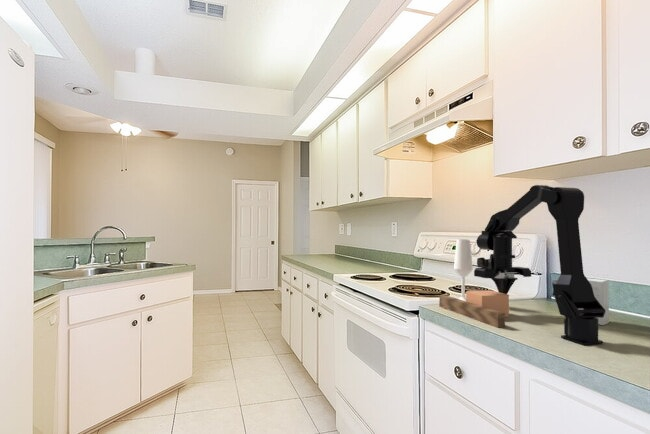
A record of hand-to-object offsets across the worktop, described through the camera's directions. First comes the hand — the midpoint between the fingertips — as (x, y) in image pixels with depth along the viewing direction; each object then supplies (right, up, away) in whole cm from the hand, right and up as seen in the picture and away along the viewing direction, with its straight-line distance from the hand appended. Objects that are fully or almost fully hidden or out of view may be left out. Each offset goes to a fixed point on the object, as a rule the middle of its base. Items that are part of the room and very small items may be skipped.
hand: (502, 298), depth 120 cm
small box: (+23, -5, -9) cm, 25 cm away
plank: (-13, -5, -4) cm, 15 cm away
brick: (-6, -5, -2) cm, 8 cm away
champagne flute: (-7, -6, +17) cm, 19 cm away
